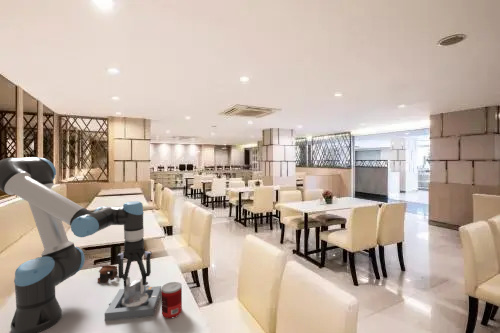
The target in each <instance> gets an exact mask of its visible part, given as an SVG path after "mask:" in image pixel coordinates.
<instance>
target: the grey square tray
mask: <svg viewBox="0 0 500 333" xmlns="http://www.w3.org/2000/svg"><path fill="white" fill-rule="evenodd" d="M161 289H162V286H161V285H157V286H146V293H147V294H148V296H149V302H148V304H147V305H146V306H136V307H124V308H120V307H121V306H120V305H122V299H123V298H124V288H120V289H119V290H118V292H117V293H116V295H115V296H114V298H113V299H112V301H111V302H110V303H111V304H110V303H109V304H110V305H109V304H108V307H107V308H106V310H105V312H104V322H105V321H115V320H127V319H137V318H149V317H154V315H155V312H156V310H157V307H156V306H158V304H157V303H159V301H158V300H160V298H159V297H161ZM155 309H156V310H155Z"/></svg>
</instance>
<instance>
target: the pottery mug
mask: <svg viewBox="0 0 500 333" xmlns="http://www.w3.org/2000/svg"><path fill="white" fill-rule="evenodd" d="M98 273H99V277H98V278H97V283H99V284H100V283H101V284H108V283H109V280H110V281H113V280H114V279H115V278H116V277H117V276H118V275H119V274H118V266H116V265H110V264H109V265H108V264H107V265H102V266H101V268H100V269H99V270H98Z"/></svg>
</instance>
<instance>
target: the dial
mask: <svg viewBox="0 0 500 333" xmlns="http://www.w3.org/2000/svg"><path fill="white" fill-rule="evenodd" d="M140 279H141V277H139V278H137V279H135V280H133V281H131V282H130V284H128V285H126V286H124V285H123V289H124V298H123V299H122V308H124V307H136V306H146V305H147V304H148V302H149V296H148V294H147V293H146V287H147V285H146V284H145V285H144V292H143V294H141V284H140Z"/></svg>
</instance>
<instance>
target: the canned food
mask: <svg viewBox="0 0 500 333" xmlns="http://www.w3.org/2000/svg"><path fill="white" fill-rule="evenodd" d="M182 293H183V292H182V284H181V282H178V281H172V282H168V283H165V284H163V286H161V295H160V297H161V315H162V317H163V318H164V317H165V319H173V318H172V317H174V318H177V317H178V316H180V315H181V313H182V310H183V306H182V305H183V304H182V303H183V301H182V300H183V298H182ZM176 316H177V317H176Z"/></svg>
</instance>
